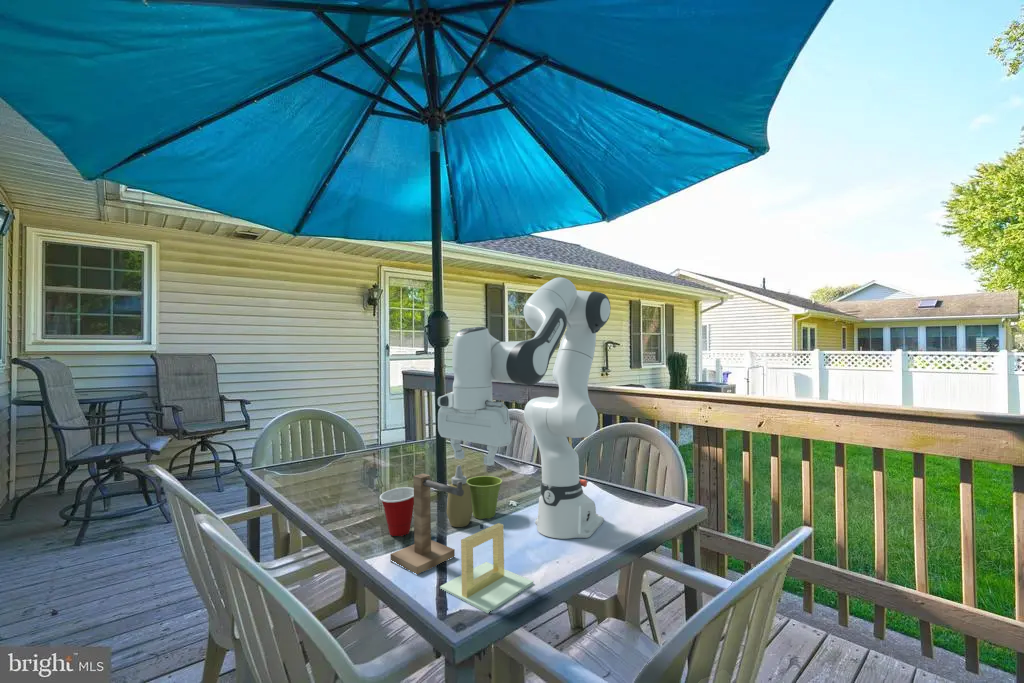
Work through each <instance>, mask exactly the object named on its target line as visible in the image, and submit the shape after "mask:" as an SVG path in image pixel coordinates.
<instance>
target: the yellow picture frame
mask: <svg viewBox="0 0 1024 683" xmlns="http://www.w3.org/2000/svg"><path fill="white" fill-rule="evenodd" d="M504 538H505V536H504V524H503V523H500V522H498V523H495V524H493V525H490V526H489V527H486V528H484V529H482V530H479V531H478V532H475V533H473V534H471V535H469V536H467V537H464V538H462V539H460V550H461V551H460V553H461V554H460V558H461V564H460V565H461V575H462V596H464V597H466V598H468V597H470V596H472V595H473V594H475V593H477V592H478V591H480V590H482V589H483V588H485V587H487V586H488V585H490V584H492V583H493V582H495V581H497V580H499V579H500V578H502V577H504V569H505V548H504V547H505V546H504V545H505V544H504V542H505V541H504V540H505V539H504ZM490 540H492V558H493V559H492V564H493V569H492V570H490V571H488V572H486V573H485V574H483V575H481V576H479V577H478V578H476V579H474V580H473V568H474V548H476V547H478V546H479V545H482V544H484V543H486V542H488V541H490Z"/></svg>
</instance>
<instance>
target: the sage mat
mask: <svg viewBox="0 0 1024 683" xmlns="http://www.w3.org/2000/svg"><path fill="white" fill-rule="evenodd" d="M492 569H493V563H491V562H488V561H485V562H483V563H480V565H477V566H476V567H473V580H474V579H476V578H478V577H479V576H481V575H483V574H485V573H486V572H488V571H490V570H492ZM532 585H534V580H532V579H530V578H527V577H524V576H523V575H520V574H517V573H514V572H512V571H511V570H508V569H505V568H504V577H502V578H500V579H499V580H497V581H495V582H493V583H492V584H490V585H488V586H487V587H485V588H483V589H482V590H480V591H478V592H477V593H475V594H473V595H472V596H470V597H468V598H466V597H464V596H462V574H460V575H459V576H456V577H455V578H453V579H451V580H449V581H448V582H445V583H444V584H442V585H440V586H439V589H440V590H441V589H442V590H441V591H443V590H444V591H443V592H445V591H446V592H445V593H447V592H448V593H447V594H449V593H450V594H449V595H451V594H452V595H451V596H453V595H454V596H453V597H455V596H456V597H455V598H457V597H458V598H457V599H459V598H460V599H459V600H461V599H462V600H464V601H466V602H467V603H466V602H465V603H466V604H468V603H470V604H471V605H470V604H469V605H470V606H472V605H473V606H472V607H475V608H476V609H478V610H480V611H482V612H484V613H486V614H490V613H491V612H493V611H495V610H496V609H498V608H499V607H500V606H502V605H504V604H505V603H506V602H508V601H510V600H511V599H513V598H514V597H515V596H517V595H519V594H521V593H522V592H523V591H525V590H526V589H527V588H529V587H530V586H532ZM524 589H525V590H524ZM521 591H522V592H521ZM518 593H519V594H518ZM462 600H461V601H462ZM464 601H463V602H464ZM492 610H493V611H492ZM490 611H491V612H490ZM489 612H490V613H489Z"/></svg>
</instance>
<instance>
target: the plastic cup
mask: <svg viewBox="0 0 1024 683" xmlns="http://www.w3.org/2000/svg"><path fill="white" fill-rule="evenodd" d="M379 500H380V501H381V502H382V506H383V508H384V514H385V519H386V524H387V527H388V533H389V535H390V536H391V535H392V536H391V537H393V536H401V537H404V536H403V535H405V536H407V535H409V534H410V531H411V525H412V518H413V515H414V487H410V486H409V487H408V486H407V487H406V486H405V487H396V488H392V489H388V490H386V491H384V492H382V493H381V494H380V495H379ZM406 534H407V535H406Z"/></svg>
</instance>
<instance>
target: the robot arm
mask: <svg viewBox="0 0 1024 683" xmlns="http://www.w3.org/2000/svg"><path fill="white" fill-rule="evenodd" d="M610 316H611V302H610V299H609V298H608V296H607V295H606V293H604V292H600V291H595V290H594V291H588V290H577V288H576V286H575V284H574V283H573V282H572V281H571V280H570V279H568V278H565V277H560V276H559V277H558V276H557V277H555V278H552V279H551V280H549V281H547V282H545V283H544V284H542V285H541V286H540V287H539V288H537V289H536V291H534V292H533V294H531V295H530V296H529V298H528V299H526V302H525V304H524V306H523V317H524V320H525V322H526V324H527V325H528V327H530V329H531V330H532V331H534V332H535V335H534V336H533V337H532V338H529V339H525V340H520V341H500V340H499V339H497V338H496V337H494V336H493V335H491V333H490V332H489V329H488V327H486V326H485V327H484V326H473V327H466V328H462V329H459V330H458V331H457V332H456V333H455V334H454V337H453V341H452V351H451V352H452V353H451V357H452V358H451V363H452V364H451V366H452V367H451V368H452V370H453V377H454V378H453V383H452V391H451V392H448V393H446V394H444V395H441V396H438V398H437V405H438V407H439V409H438V412H437V432H438V434H439V435H440V437H441V438H445V439H449V440H450V445H451V447H452V449H453V452H454V454H453V455H454V459H456V460H462V459H465V450H463V449H462V445H461V442H462V441H463V442H467V443H474V444H478V445H479V444H480V445H486V449H487V450H486V451H488V453H487V455H486V456H483V464H484V465H485V466H489V467H490V466H494V465H495V457H496V455H497V452H498V451H499V448H502V447H507V446H509V445H510V444H511V442H512V440H513V435H512V427H511V426H512V425H511V419H510V418H511V417H510V414H509V413H510V412H509V411H510V410H509V408H508V407H507V405H506V404H505V403H504V402H503V401H494V400H493V383H507V384H509V383H511V384H518V385H525V386H534V385H536V384H538V383H539V382H540V381H542V379H543V378H544V377H545V375H546V373H547V371H548V367H549V365H550V361H551V358H552V356H553V354H554V352H555V350H556V349H557V347H559V348H558V350H557V354H556V357H555V361H554V365H553V368H552V372H551V375H552V376H551V377H552V380H554V381H555V383H556V384H557V385H558V396H557V397H555V396H554V397H552V396H539V397H534V398H531V399H530V400H529V401H528V402H527V403H526V404H525V406H524V408H523V409H524V410H523V418H524V422H525V423H526V425H527V426H528V427H529V428H530V429H531V431H532V433H533V435H534V438H535V439H536V442H537V446H538V450H539V454H540V462H541V480H540V485H539V487H540V495H539V499H538V511H537V517H536V518H535V521H534V522H535V524H536V525H537V526H536V528H537V531H538V532H539V533H540V534H541V535H543V536H545V537H548V538H554V539H562V540H564V539H565V540H566V539H567V540H569V539H575V538H579V539H580V538H582V539H583V538H585V539H587V538H590V537H591V536H592V535H593V534H594V533H595V532H596V530H597V529H599V527H601V525H602V524H603V523H604V521H605V517H603V516H602V515H600V514H598V513H597V509H596V503H595V501H594V500H593V499H592V498H591V497H589V496H588V495H587V494H586V493H584V490H583V487H584V488H587V485H588V481H587V480H586V479H582V478H581V479H580V463H579V462H580V458H579V455H578V453H577V452H576V450H575V449H574V448H573V447H572V445H571V444H570V442H569V440H568V438H572V439H578V438H581V439H582V438H587V437H590V436H592V435H593V433H594V432H595V431H596V429H597V427H598V423H599V416H598V412H597V410H596V408H595V406H594V405H593V404H592V402H591V399H590V396H589V389H588V388H589V386H588V385H589V383H588V382H589V379H590V374H591V370H592V369H591V368H592V365H593V360H594V356H595V351H596V344H597V343H596V342H597V341H596V340H597V333H598V332H599V331H600V330H601V329H602V328H603V327H604V326H605V325H606V324H607V322H608V320H609V319H610ZM559 343H560V344H559ZM558 345H559V346H558Z"/></svg>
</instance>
